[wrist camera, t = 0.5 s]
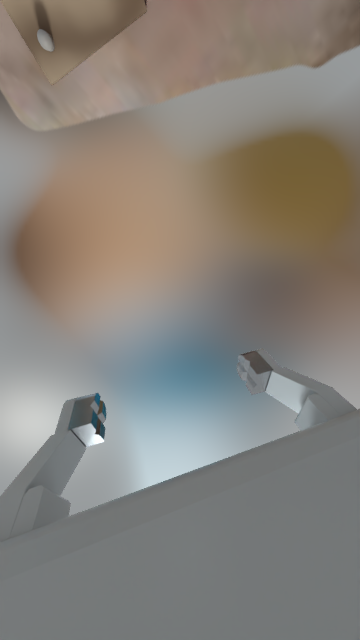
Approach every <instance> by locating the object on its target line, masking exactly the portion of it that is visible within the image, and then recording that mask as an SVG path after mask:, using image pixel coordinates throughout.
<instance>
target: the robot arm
mask: <svg viewBox="0 0 360 640" xmlns="http://www.w3.org/2000/svg"><path fill="white" fill-rule="evenodd" d="M238 360H239V363H238V364H237V371H238V374H239V376H240V378H241V379H242V380H244V381H246V387H247V388H248V390H249V391H250V393H251V394H252V395H253V394H257V393H261V392H265V391H266V393H268V394H269V395H271V396H272V397H274V398H275V399H277V400H278V401H280V402H281V403H283V404H284V405H286V406H288V407H289V408H291V409H292V410H294V411H295V412H297V413H298V416H297V418H296V420H295V424H296V425H297V426H298V428H299V429H300V430H301V431H298V432H296V433H293V434H290V435H288V436H285V437H283V438H280V439H277V440H274V441H271V442H269V443H266V444H263V445H261V446H258V447H255V448H252V449H250V450H247V451H244V452H242V453H239V454H236V455H234V456H231V457H228V458H225V459H223V460H220V461H217V462H215V463H212V464H210V465H207V466H204V467H201V468H198V469H196V470H193V471H190V472H188V473H185V474H182V475H179V476H177V477H174V478H172V479H169V480H166V481H163V482H161V483H158V484H155V485H152V486H150V487H147V488H144V489H142V490H139V491H136V492H134V493H131V494H128V495H126V496H123V497H120V498H118V499H115V500H112V501H109V502H107V503H104V504H101V505H98V506H96V507H93V508H91V509H88V510H85V511H82V512H79V513H77V514H74V515H71V516H69V510H70V502H69V501H68V500H66V499H64V498H62V497H61V496H60V495H61V493H62V492H63V490H64V488H65V486H66V484H67V482H68V481H69V479H70V477H71V475H72V474H73V472H74V470H75V468H76V467H77V465H78V463H79V461H80V459H81V458H82V456H83V454H84V452H85V450H86V447H89V446H92V445H94V444H98V443H101V442H103V441H104V436H105V427H104V425H103V423H104V421H105V420H106V407H105V404H104V402H103V401H101V400H100V395H99V394H98V393H95V394H91V395H87V396H83V397H79V398H74V399H71V400H67V401H66V402H65V403H64V405H63V408H62V411H61V415H60V418H59V421H58V425H57V428H56V431H55V434H54V435H52V436H50V438H49V439H48V440H47V441H46V442H45V444H44V445H43V446H42V447H41V448H40V449H39V451H38V452H37V453H36V454H35V456H34V457H33V458H32V459H31V460H30V461H29V463H28V464H27V465H26V466H25V468H24V469H23V470H22V471H21V472H20V473H19V475H18V476H17V477H16V478H15V479H14V481H13V482H12V483H11V484H10V485H9V486H8V488H7V489H6V490H5V491H4V493H3V494H2V495H1V496H0V640H360V409H358V410H357V409H356V408H355V407H354V406H353V405H351V404H350V403H349V402H348V401H347V400H346V399H345V398H343V397H342V396H341V395H340V394H339V393H338V392H337V391H335V390H334V389H333V388H332V387H330V386H328V385H325V384H323V383H321V382H318V381H316V380H314V379H311V378H309V377H307V376H304V375H302V374H299V373H297V372H295V371H293V370H290V369H288V368H285V367H283V368H282V367H281V366H280V365H279V364H278V363H277V362H276V361H275V360H274V359H273V358H272V357H271V356H270V355H269V354H268V353H267V352H266V351H265V350H264V349H258V350H255V351H250V352H247V353H243V354H240V355H239V356H238ZM68 516H69V517H68Z"/></svg>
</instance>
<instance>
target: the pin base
mask: <svg viewBox="0 0 360 640" xmlns="http://www.w3.org/2000/svg"><path fill="white" fill-rule="evenodd" d="M0 1H1V3H2V4H3V6H4V8H5V9H6V11H7V13H8V14H9V16H10V18H11V19H12V21H13V23H14V24H15V26H16V28H17V29H18V31H19V32H20V34H21V36H22V37H23V39H24V41H25V42H26V44H27V46H28V47H29V49H30V51H31V52H32V54H33V56H34V57H35V59H36V61H37V62H38V64H39V65H40V67H41V69H42V70H43V72H44V74H45V75H46V77H47V79H48V80H49V82H50V84H51V85H54V84H55V83H56V82H58V81H59V80H60V79H61V78H63V77H64V76H65V75H67V74H68V73H69V72H70V71H72V70H73V69H74V68H75V67H77V66H78V65H79V64H81V63H82V62H83V61H84V60H86V59H87V58H88V57H90V56H91V55H92V54H93V53H95V52H96V51H97V50H98V49H100V48H101V47H102V46H104V45H105V44H106V43H107V42H109V41H110V40H111V39H113V38H114V37H115V36H116V35H118V34H119V33H120V32H121V31H123V30H124V29H125V28H127V27H128V26H129V25H130V24H132V23H133V22H134V21H135V20H137V19H138V18H139V17H141V16H142V15H143V14H144V13H146V11H147V9H146V5H145V1H144V0H0Z"/></svg>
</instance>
